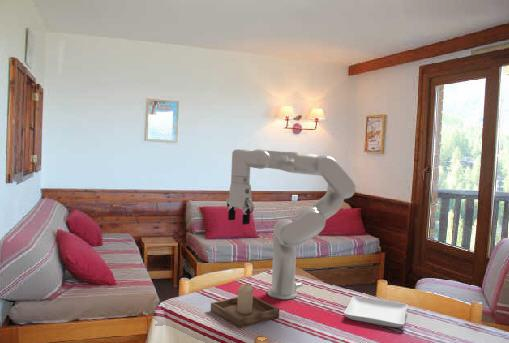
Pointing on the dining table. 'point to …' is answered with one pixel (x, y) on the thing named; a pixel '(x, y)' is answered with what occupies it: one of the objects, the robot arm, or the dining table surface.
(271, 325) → the dining table surface
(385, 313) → the salad plate
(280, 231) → the robot arm
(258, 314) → the walnut tray
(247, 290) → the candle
